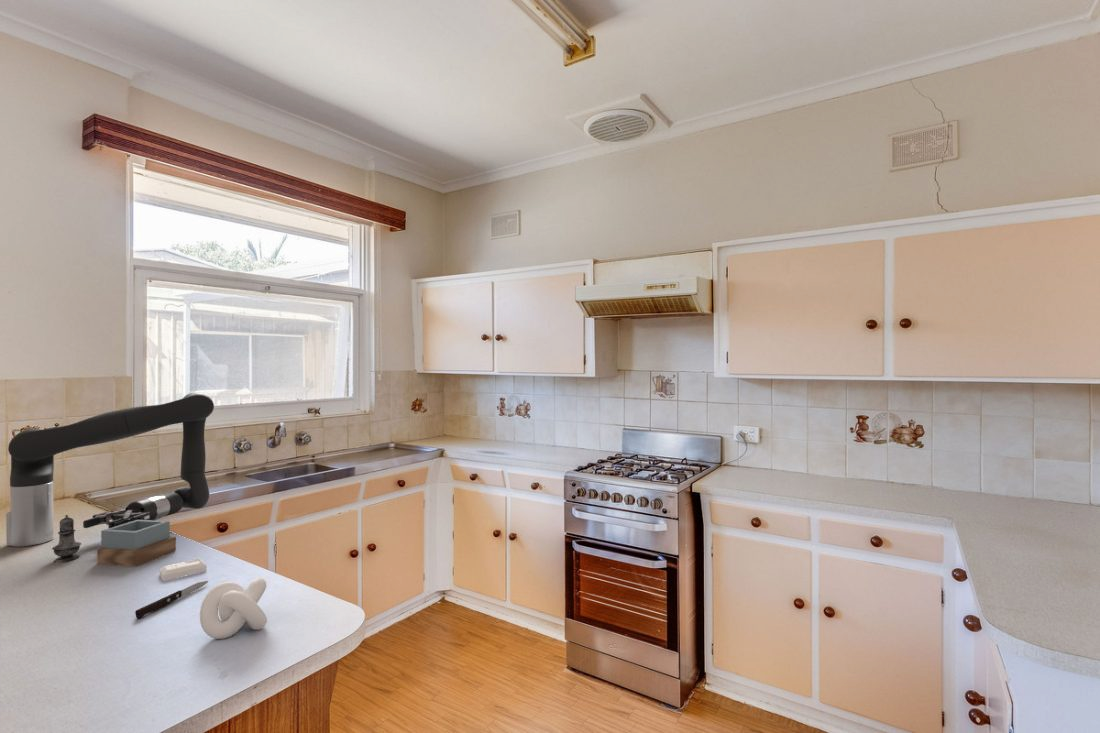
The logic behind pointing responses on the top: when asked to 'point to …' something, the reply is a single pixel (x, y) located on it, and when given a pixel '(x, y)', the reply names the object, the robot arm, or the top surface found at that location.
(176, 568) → the soap bar
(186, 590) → the kitchen knife
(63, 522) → the salt shaker
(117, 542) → the blue-grey square tray
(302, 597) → the top surface
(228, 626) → the white knot sculpture
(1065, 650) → the top surface
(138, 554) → the tower base
